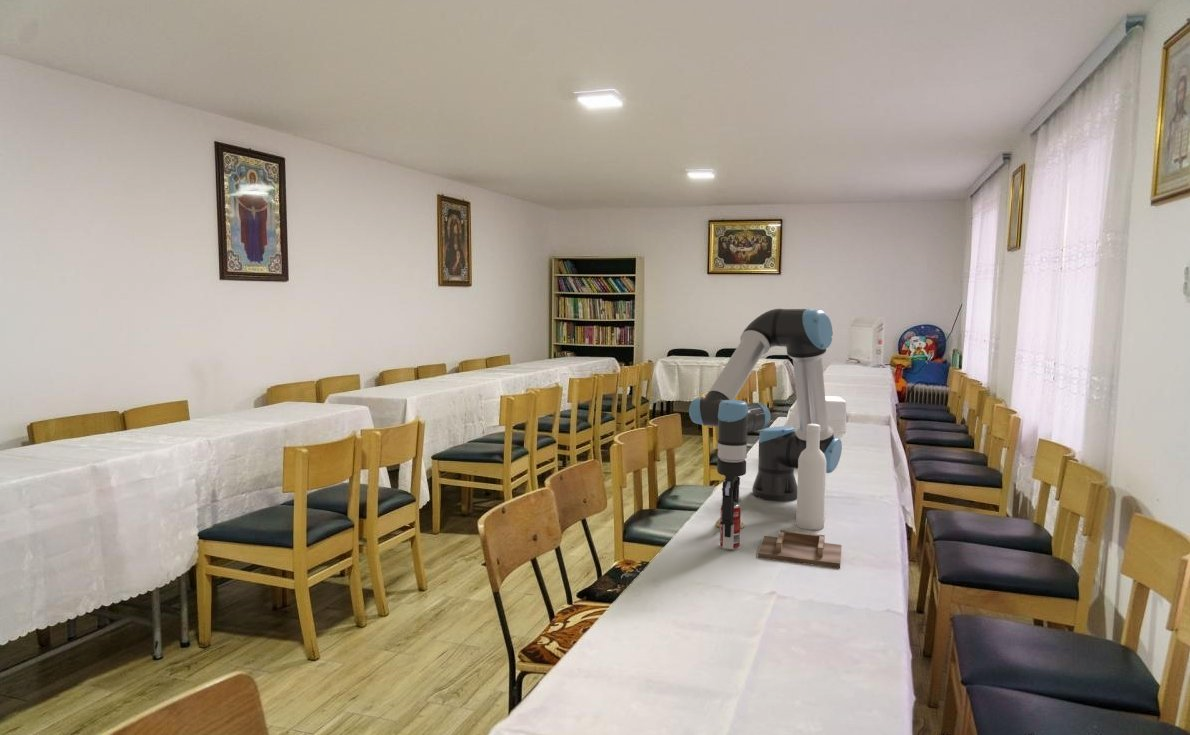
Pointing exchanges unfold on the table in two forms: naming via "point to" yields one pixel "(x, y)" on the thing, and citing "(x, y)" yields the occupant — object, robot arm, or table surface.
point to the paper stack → (834, 416)
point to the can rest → (801, 549)
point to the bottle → (811, 482)
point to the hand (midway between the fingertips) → (729, 544)
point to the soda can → (736, 527)
